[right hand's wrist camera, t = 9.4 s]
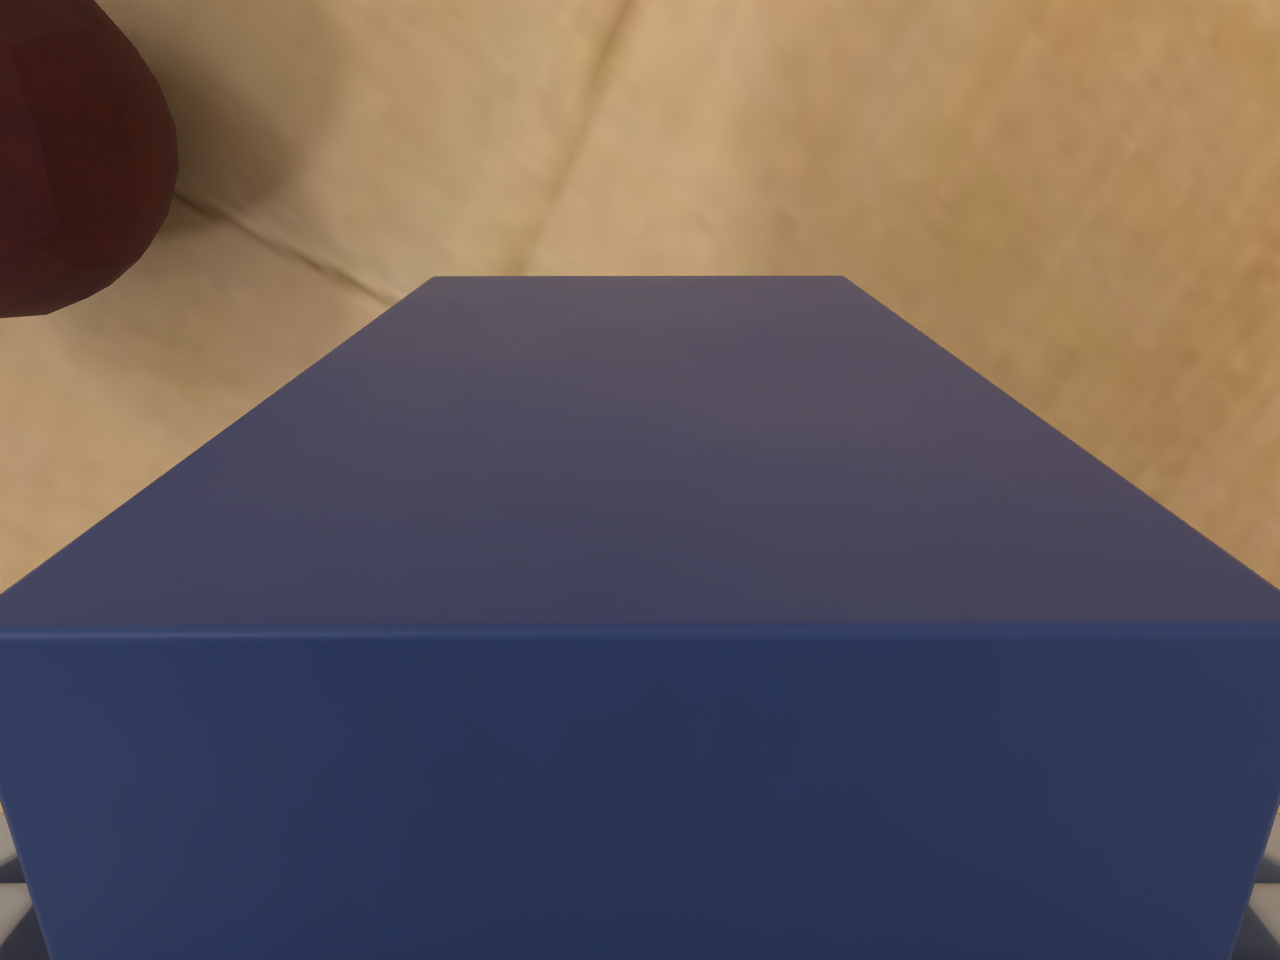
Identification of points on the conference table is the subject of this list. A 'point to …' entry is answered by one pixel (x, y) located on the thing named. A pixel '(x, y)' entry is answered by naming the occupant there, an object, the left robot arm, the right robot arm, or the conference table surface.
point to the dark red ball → (76, 154)
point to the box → (640, 659)
